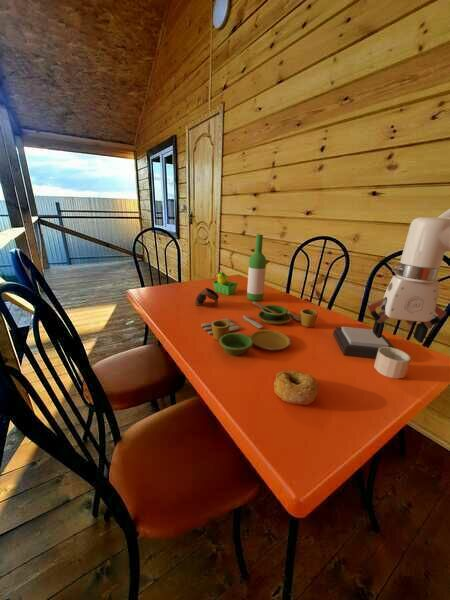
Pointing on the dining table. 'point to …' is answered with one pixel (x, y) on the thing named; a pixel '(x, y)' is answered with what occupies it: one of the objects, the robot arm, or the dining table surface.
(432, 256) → the robot arm
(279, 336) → the tableware set
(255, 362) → the dining table surface
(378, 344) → the weigh platform
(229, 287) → the fruit basket
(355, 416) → the dining table surface
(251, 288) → the wine bottle
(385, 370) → the bowl
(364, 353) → the scale
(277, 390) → the bagel
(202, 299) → the dark brown arch
